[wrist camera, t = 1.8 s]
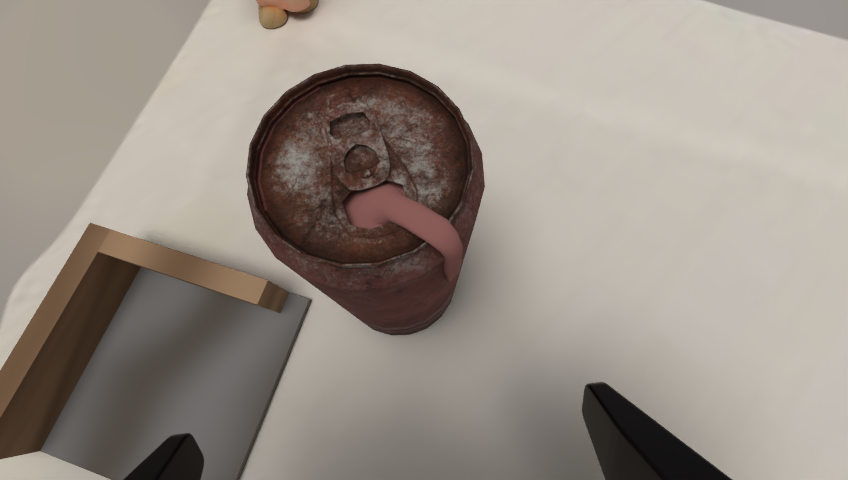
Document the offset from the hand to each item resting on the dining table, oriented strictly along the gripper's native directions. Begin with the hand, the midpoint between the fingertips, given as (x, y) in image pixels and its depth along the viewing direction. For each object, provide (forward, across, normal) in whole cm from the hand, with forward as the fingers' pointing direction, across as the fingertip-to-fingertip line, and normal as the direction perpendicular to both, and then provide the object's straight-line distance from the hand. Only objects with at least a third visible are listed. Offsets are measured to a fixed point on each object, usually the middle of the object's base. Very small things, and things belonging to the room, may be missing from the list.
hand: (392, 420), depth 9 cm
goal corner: (+11, +12, +7) cm, 18 cm away
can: (+13, 0, +5) cm, 14 cm away
